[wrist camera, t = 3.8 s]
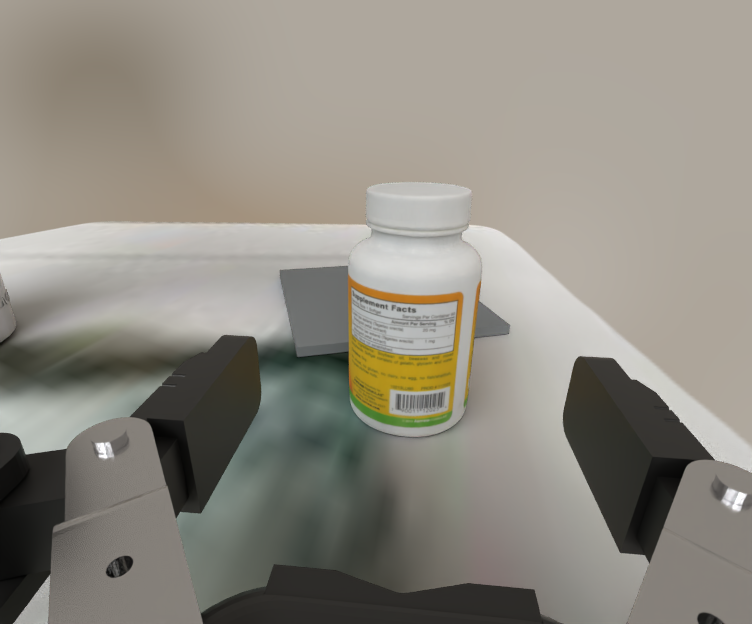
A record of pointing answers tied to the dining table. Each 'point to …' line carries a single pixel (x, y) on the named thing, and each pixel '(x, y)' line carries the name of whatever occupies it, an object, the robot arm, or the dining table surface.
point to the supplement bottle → (413, 309)
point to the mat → (339, 310)
